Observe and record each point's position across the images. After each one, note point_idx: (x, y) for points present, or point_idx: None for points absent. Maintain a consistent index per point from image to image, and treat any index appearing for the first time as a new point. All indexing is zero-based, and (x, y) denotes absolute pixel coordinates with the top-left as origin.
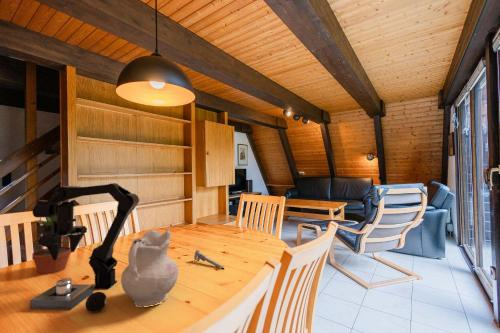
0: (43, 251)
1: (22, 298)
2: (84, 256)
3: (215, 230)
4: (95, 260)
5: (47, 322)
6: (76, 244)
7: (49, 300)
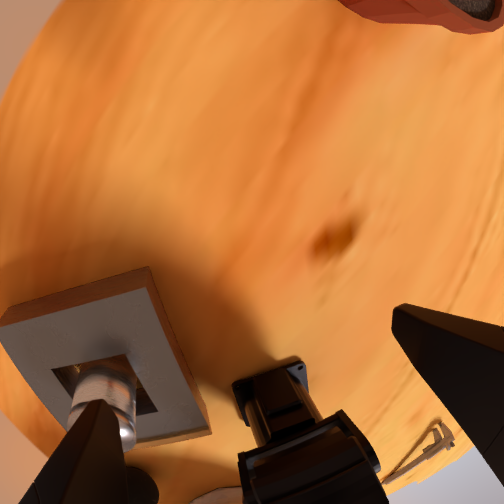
0: None
1: (35, 157)
2: (491, 33)
3: None
4: None
5: (28, 420)
6: (449, 411)
7: (41, 400)
